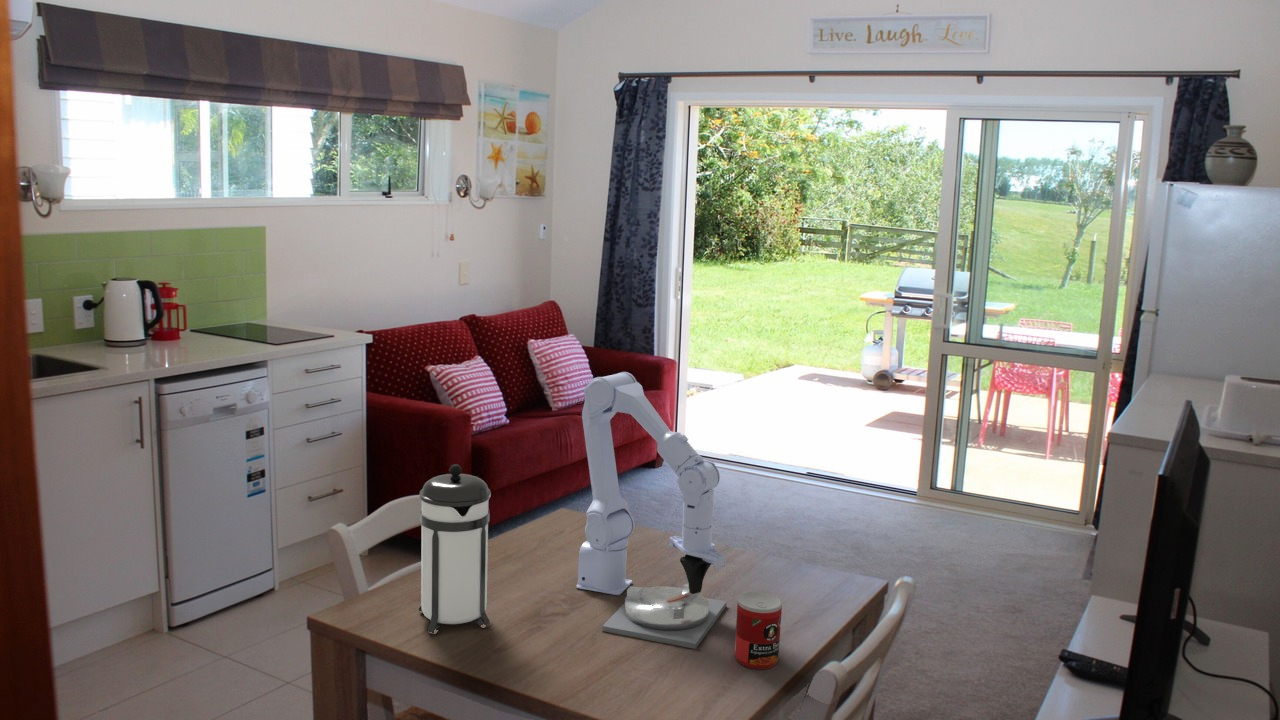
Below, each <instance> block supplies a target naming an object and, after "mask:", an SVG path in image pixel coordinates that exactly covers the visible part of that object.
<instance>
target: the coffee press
mask: <svg viewBox="0 0 1280 720" xmlns="http://www.w3.org/2000/svg"><path fill="white" fill-rule="evenodd" d="M448 471H449V473H446V474H441V475H437V476H434V477H432V478H430V479H429V480H427V481H426V482H424V484H423V487H422V489H420V491H419V500H420V501H421V510H420V519H419V520H420V521H419V522H420V523H419V524H421V546H420V547H421V559H420V560H421V565H420V567H421V573H420V575H421V576H420V578H421V585H420V589H421V591H420V592H421V593H420V598H421V600H420V602H421V604H420V606H419V608H418V612H419V611H422V612H423V614H424V617H426V618H427V619H429V625H428V627H427V632H428V631H429V632H432V633H434V630H435V629H436V630H439V631H440V628H441V627H442V626H443V625H444V624H445V625H458V624H459V625H460V624H464V623H465V624H466V623H469V622H475V623H476V624H477V625H478V626H479V627H480V626H481V625H483V624H485V625H486V627H485V629H486V628H488V627H489V626H490V625H491V621H490V619H489V617H488V616H487V613H486V610H487V605H488V603H487V601H488V596H487V595H488V554H489V553H488V552H489V551H488V548H489V547H488V545H489V539H488V538H489V523H490V509H489V500H490V498H491V494H492V493H491V489H490V488H489V487H488V484H487V483H486V482H485V481H484V480H483V479H482V478H480V477H479V476H475V475H472V474H468V473H467V474H466V473H462V471H463V469H462V466H460V465H459V464H457V463H456V464H455V463H454V464H452V465H451V466H450V467H449V469H448ZM480 617H481V618H480ZM482 620H483V621H482ZM487 626H488V627H487Z"/></svg>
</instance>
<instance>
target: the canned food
mask: <svg viewBox="0 0 1280 720" xmlns="http://www.w3.org/2000/svg"><path fill="white" fill-rule="evenodd" d="M736 608H737V609H736V622H735V623H736V624H735V641H734V642H735V643H734V657H735V659H736V661H737V662H738V663H739V664H741V665H742V666H744V667H745V668H749V669H754V670H765V669H770V668H773V667H774V666H776V665H777V663H778V660H779V658H780V657H779V656H780V639H781V627H782V626H781V625H782V615H783V613H782V611H783V609H782V608H783V604H782V600H781V599H780V598H779V597H777V596H776V595H773V594H771V593H767V592H764V591H763V592H762V591H749V592H745V593H742V594H741V595H739V596H738V598H737V605H736Z"/></svg>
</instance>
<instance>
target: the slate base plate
mask: <svg viewBox="0 0 1280 720" xmlns="http://www.w3.org/2000/svg"><path fill="white" fill-rule="evenodd" d="M639 587H640V588H647V586H639ZM705 598H706V599H707V601H708V602H709V615H708V619H707V620H706V621H705V622H704V623H702V624H701V625H698V626H696V627H693V628H688V629H682V630H661V629H654V628H649V627H645V626H642V625H639V624H637V623H635V622H633V621H631V620H630V619H629V618H628V617H627V616H626V614H625V602H624V603H623V604H621V606H620V607H619V608H618V609H617V610H616V611H615V612H614V614H612V615H611V616H610V617H609V619H607V620H606V622H604V624H603V625H602V627H601V631H602V632H606V633H611V634H616V635H620V636H621V635H622V636H626V637H632V638H636V639H641V640H646V641H652V642H658V643H663V644H667V645H673V646H679V647H683V648H688V649H694V650H696V649H697V648H698V647H699V645H700V643H701V642H702V641H703V640H704V638H705V636H706V635H707V634H708V633H709V631H710V630H711V629H712V627H713V626H714V624H715V623H716V622H717V619H718V618H719V617H720V616H721V615H722V613H723V611H725V609H726V607H727V601H725V600H721V599H720V600H719V599H715V598H707V597H705Z"/></svg>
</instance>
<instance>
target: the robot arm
mask: <svg viewBox="0 0 1280 720" xmlns="http://www.w3.org/2000/svg"><path fill="white" fill-rule="evenodd" d="M583 393H584V394H583V395H584V403H583V407H582V412H581V419H582V426H583V433H584V434H583V435H584V441H585V449H586V455H587V457H586V458H587V463H588V470H589V471H588V472H589V479H590V485H591V486H590V488H591V493H592V502H591V504H590V506H589V507H588V509H587V510H586V513H585V514H586V523H585V526H584V527H585V528H584V535H585V538H586V541H583V543H582V545H581V546H580V549H579V552H578V563H577V564H578V566H577V584H576V585H575V586H576V588H577V589H581V590H585V591H586V590H587V591H593V592H596V593H597V592H599V593H602V594H609V595H613V596H620V595H621V594H622V593H623V592H624V591H625V590H627V589H628V588H629V587H630V586H631V584H633V580H632V579H629V578H628V579H627V578H626V576H627V555H628V554H627V551H628V543H629V537H631V536H632V535H633V533H634V531H635V527H636V522H635V519H634V517H633V514H632V513H631V512H630V507H629V502H627V501H626V500H625V499H624V498H623V497H622V496H621V493H620V487H619V485H620V484H619V478H618V477H619V476H618V471H617V463H616V456H615V449H614V441H613V433H612V426H611V420H612V418H614V416H615V415H616V414H617V413H622V414H623V413H624V414H628V415H631V417H632V418H633V419H635V421H637V423H638V424H640V425H641V426H642V427H641V428H643V429H644V430H645V431H646V432H647V434H649V435H650V436H651V437H652V439H654V440H655V442H656V444H657V445H656V446H657V447H656V453H658V454H659V456H660V457H661V458H662V459H663V460H664V462H665V463H666V464H667V465H668V467H669V468H670V469H671V470H672V471H673V473H674V474H675V475H676V477H678V478H677V484H678V487H679V489H680V491H681V493H682V501H683V504H682V527H681V528H682V529H681V531H682V532H681V534H682V535H681V536H679V535H675V536H670V537H669V538H668V541H669V542H668V547H669V548H671V549H673V548H674V549H677V550H680V552H682V554H685V555H684V556H681V557H680V558H679V562H680V564H681V565H682V567H683V570H684V572H685V575H686V577H687V583H689V592H690V593H691V594H696V593H698V594H700V593H701V592H702V589H703V582H704V578H705V576H706V573H708V570H709V569H710V567H711V566H712V565H713V567H714V568H715V569H719V568H720V569H721V568H724V567H725V566H726V556H724V555H723V554H721V553H720V552H719V551H718V550H716V549H715V548H716V544H715V543H713V540H712V539H713V520H714V517H713V516H714V496H715V494H714V493H715V492H714V490H715V488H717V486H718V484H719V483H720V480H721V479H720V478H721V477H720V471H719V470H718V468H717V466H716V464H715V463H714V462H712V461H711V460H709V459H708V460H707V459H705V458H703V456H702V455H699V453H698V452H697V451H696V450H695V448H694V447H693V446H691V444H690V443H689V441H688V440H689V437H687V436H686V434H683V435H682V433H681V432H678V431H672V430H671V429H670V428H669V427H668V425H667V424H666V422H665V421H664V420H663V419H662V417H661V415H660V414H659V413H658V412H657V410H656V409H655V407H654V406H653V405H652V404H651V402H650V401H649V399H648V398H647V396H646V395H645V392H644V389H643V386H642V385H641V383H640V382H639V381H637V379H636V377H635V376H634V375H633V374H632V373H629V372H627V371H621V372H618V373H614V374H611V375H606V376H597V377H594V378H593V379H591V380H590V381H589V382H588V383H587V385H586V386H585V387H584V388H583Z"/></svg>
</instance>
